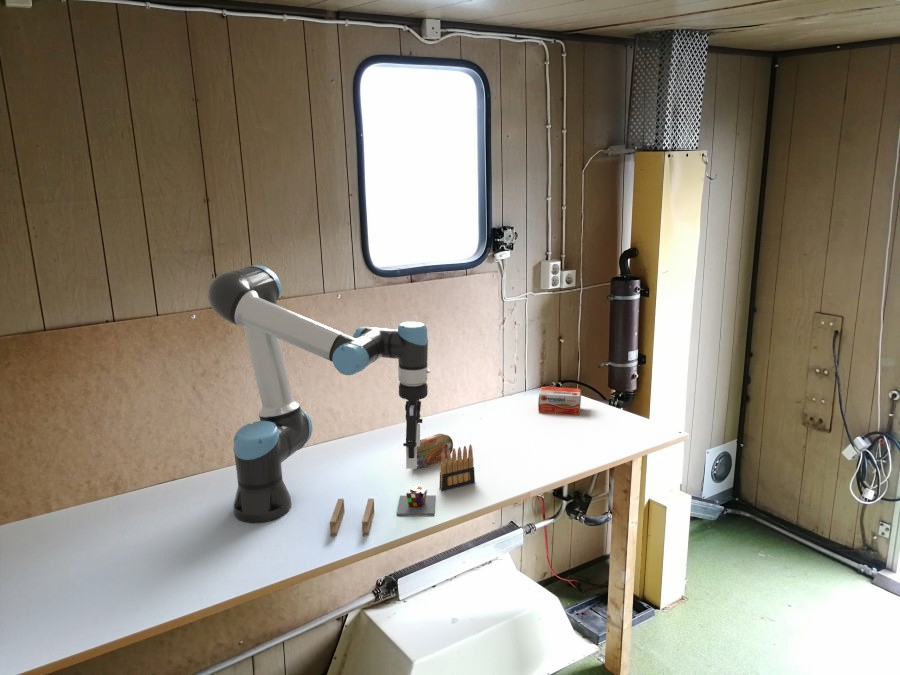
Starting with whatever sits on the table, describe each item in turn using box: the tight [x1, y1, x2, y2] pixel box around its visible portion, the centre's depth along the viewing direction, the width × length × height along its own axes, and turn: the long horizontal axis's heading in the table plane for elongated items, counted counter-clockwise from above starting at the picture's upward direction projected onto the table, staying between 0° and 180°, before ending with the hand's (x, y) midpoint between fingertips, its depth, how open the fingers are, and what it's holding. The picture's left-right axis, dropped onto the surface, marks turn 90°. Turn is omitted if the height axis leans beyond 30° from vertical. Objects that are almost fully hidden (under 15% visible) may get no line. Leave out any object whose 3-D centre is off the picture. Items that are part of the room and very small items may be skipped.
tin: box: [417, 433, 454, 468], centre depth 213 cm, size 15×3×8 cm, turn 129°
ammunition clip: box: [439, 444, 476, 492], centre depth 197 cm, size 11×2×12 cm, turn 117°
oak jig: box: [329, 498, 375, 537], centre depth 178 cm, size 10×12×4 cm
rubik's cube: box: [405, 485, 428, 507], centre depth 187 cm, size 4×5×5 cm
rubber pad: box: [396, 494, 437, 517], centre depth 187 cm, size 10×10×1 cm
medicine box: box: [537, 386, 582, 417], centre depth 254 cm, size 15×8×8 cm, turn 78°
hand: (413, 456), depth 184 cm, fingers open, 13 cm apart
